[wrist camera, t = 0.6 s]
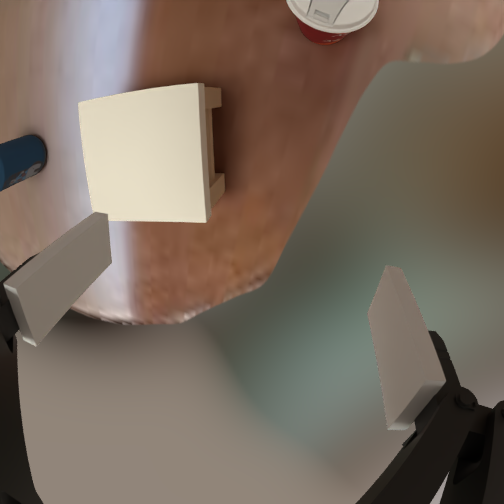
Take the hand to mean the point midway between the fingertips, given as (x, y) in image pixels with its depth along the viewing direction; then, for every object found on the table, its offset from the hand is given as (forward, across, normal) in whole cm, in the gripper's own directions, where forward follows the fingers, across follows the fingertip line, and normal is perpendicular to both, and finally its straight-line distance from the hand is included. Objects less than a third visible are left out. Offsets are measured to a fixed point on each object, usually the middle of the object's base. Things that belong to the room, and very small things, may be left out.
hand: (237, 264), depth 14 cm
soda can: (+27, -40, -3) cm, 48 cm away
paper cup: (+27, +3, +17) cm, 32 cm away
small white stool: (+27, -14, 0) cm, 30 cm away
